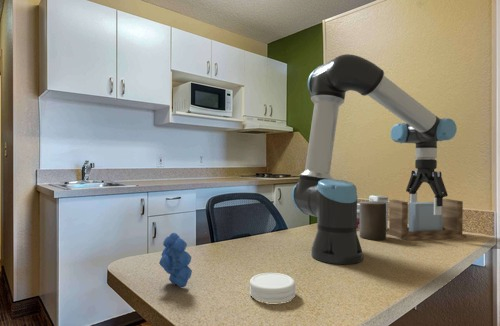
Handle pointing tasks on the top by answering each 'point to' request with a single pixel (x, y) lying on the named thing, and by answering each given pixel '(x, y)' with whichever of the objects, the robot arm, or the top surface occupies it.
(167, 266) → the grapes
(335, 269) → the top surface
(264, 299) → the white round jar
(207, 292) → the top surface
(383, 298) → the top surface
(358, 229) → the pill bottle
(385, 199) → the syrup box
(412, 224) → the door panel
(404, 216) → the frame
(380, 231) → the pillar candle
